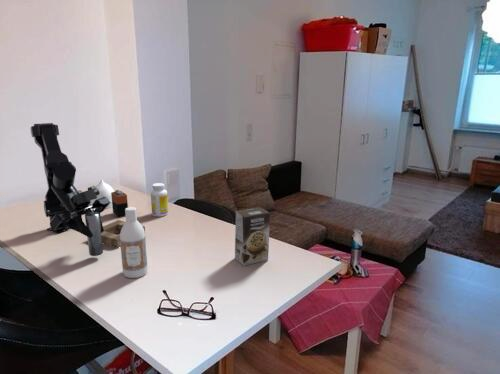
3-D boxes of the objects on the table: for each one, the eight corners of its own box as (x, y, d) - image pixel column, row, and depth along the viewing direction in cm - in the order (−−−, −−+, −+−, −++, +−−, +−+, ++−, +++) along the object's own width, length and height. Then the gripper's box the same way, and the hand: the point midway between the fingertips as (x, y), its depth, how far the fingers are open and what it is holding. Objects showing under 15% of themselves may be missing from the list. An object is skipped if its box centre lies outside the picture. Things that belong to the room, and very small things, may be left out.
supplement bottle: (170, 211, 159) (169, 182, 155) (165, 217, 153) (164, 187, 149) (155, 211, 160) (153, 181, 156) (149, 216, 153) (147, 186, 150)
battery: (118, 217, 152) (116, 194, 149) (112, 213, 157) (110, 190, 154) (129, 215, 154) (127, 192, 151) (123, 210, 159) (121, 188, 156)
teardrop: (98, 200, 172) (96, 174, 169) (121, 201, 171) (119, 176, 167) (85, 208, 162) (82, 181, 158) (109, 210, 160) (106, 182, 157)
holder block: (90, 240, 131) (89, 232, 130) (118, 227, 142) (118, 219, 141) (118, 248, 126) (117, 239, 125) (145, 234, 137) (144, 226, 136)
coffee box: (243, 266, 115) (244, 217, 110) (234, 257, 120) (234, 210, 116) (269, 260, 119) (270, 212, 114) (259, 252, 124) (260, 206, 120)
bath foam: (122, 280, 106) (116, 213, 101) (124, 268, 113) (118, 205, 107) (147, 277, 108) (142, 212, 102) (148, 266, 114) (143, 203, 109)
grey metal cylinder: (86, 254, 117) (81, 215, 113) (96, 249, 121) (92, 211, 117) (95, 257, 115) (91, 217, 112) (105, 251, 119) (101, 213, 115)
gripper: (50, 187, 105) (83, 231, 103) (103, 172, 121) (132, 211, 119) (36, 209, 111) (66, 251, 109) (88, 192, 127) (115, 229, 125)
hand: (97, 234), depth 115 cm, fingers closed on grey metal cylinder, 4 cm apart
